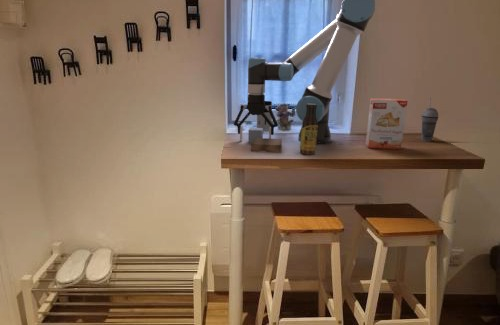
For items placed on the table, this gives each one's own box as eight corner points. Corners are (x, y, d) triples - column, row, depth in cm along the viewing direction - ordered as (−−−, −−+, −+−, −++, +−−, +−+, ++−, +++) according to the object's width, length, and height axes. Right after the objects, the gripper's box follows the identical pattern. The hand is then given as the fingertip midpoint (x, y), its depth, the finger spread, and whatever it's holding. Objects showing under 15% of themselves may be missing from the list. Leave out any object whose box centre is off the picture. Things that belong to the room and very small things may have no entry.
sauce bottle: (303, 155, 145) (306, 105, 139) (297, 152, 150) (299, 103, 145) (318, 154, 146) (322, 104, 141) (311, 151, 152) (314, 102, 147)
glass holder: (274, 129, 199) (274, 101, 195) (267, 133, 186) (267, 104, 182) (258, 128, 202) (258, 100, 198) (250, 132, 189) (251, 103, 184)
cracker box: (368, 148, 158) (373, 99, 152) (365, 145, 164) (369, 98, 158) (401, 149, 157) (408, 100, 151) (397, 146, 163) (403, 98, 157)
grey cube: (262, 140, 171) (263, 128, 169) (261, 143, 165) (261, 130, 163) (249, 140, 171) (250, 127, 170) (248, 143, 166) (248, 130, 164)
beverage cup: (430, 143, 170) (436, 99, 164) (415, 140, 175) (421, 97, 170) (437, 141, 174) (444, 98, 169) (422, 138, 180) (428, 97, 174)
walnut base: (281, 145, 161) (281, 139, 160) (280, 152, 150) (280, 145, 149) (254, 144, 162) (254, 138, 162) (251, 151, 151) (251, 144, 150)
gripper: (284, 93, 164) (282, 140, 170) (230, 92, 167) (230, 138, 173) (284, 95, 157) (282, 144, 163) (227, 94, 160) (227, 142, 166)
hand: (255, 141), depth 168 cm, fingers open, 12 cm apart
